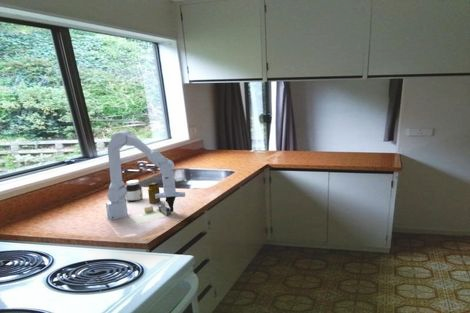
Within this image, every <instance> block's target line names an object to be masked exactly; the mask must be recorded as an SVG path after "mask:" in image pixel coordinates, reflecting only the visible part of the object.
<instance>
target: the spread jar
mask: <svg viewBox="0 0 470 313" xmlns="http://www.w3.org/2000/svg"><path fill="white" fill-rule="evenodd" d="M125 187H126V189H127V194H126V195H125V198H126V202H127V203H128V202H129V203H134V202H139V201H141V200H142V199H143V186H142V185H141V184H140V181H139V179H132V180H128V181H126V186H125Z"/></svg>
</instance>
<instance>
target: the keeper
mask: <svg viewBox="0 0 470 313" xmlns="http://www.w3.org/2000/svg"><path fill="white" fill-rule="evenodd" d="M143 209H144V213H150V212H153V210H154V206H153V205H152V206H147V207H144V208H143Z"/></svg>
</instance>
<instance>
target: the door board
mask: <svg viewBox="0 0 470 313" xmlns="http://www.w3.org/2000/svg"><path fill="white" fill-rule="evenodd" d="M166 207H167V206H166ZM167 208H169V207H167ZM177 214H178V213H177V212H176V211H174V210H173V212H171V215H168V216H166V215H165V214H164V213H162V212H161V211H159V208H157V209H153V212H150V213H145V212H142V213H138V214H133V215H130V216H129V218H130V219H131V220H132V221H133V222H134V223H136V225H140V224H145V223H147V222H148V223H149V222H151V221H152V222H153V221H155V220H159V219H163V218H166V217H171V216H174V215H177Z"/></svg>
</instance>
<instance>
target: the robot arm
mask: <svg viewBox="0 0 470 313" xmlns="http://www.w3.org/2000/svg"><path fill="white" fill-rule="evenodd" d="M124 146H130V147H131V146H132V147H135V148H136V150H137V149H138V150H139V151H140V152H141V153H143V154H145V155H146V156H147V160H148V161H149V162H151V163H152V164H153V165H155V166H156V167H157V168H158V169H159V171H160V173H161V175H162V177H161V178H162V179H161V180H162V187H163V192H160V193H159V194H155V199H157V198H160V199H163V198H165V202H166V203H167V205H168V206H169V207H168V208H169V209H170V210H171V212H173V211H174V203H175V202H176V201H175V200H176V198H185V197H186V193H185V192H184V191H177V190H176V181H175V173H174V172H175V171H174V168H175V164H174V163H175V162H174V161H173V159H172V160H171V159H169V158H168V157H165V156H164V155H162V154H161V152H160V150H158V151H157V150H155V149H154V150H152V149H151V148H150V147H149V146H148V145H146V144H145V143H144V142H143V141H142V140H141V139H140V138H138V136H137V135H136V134H135V133H133V132H131V131H130V130H129V129H128V130H127V129H125V130H122V131H117V132H115V133H114V134H113V135H112V136H111V137H110V141H109V143H108V145H107V154H108V155H107V157H108V166H109V168H108V169H109V176H110V184H109V186H108V192H107V200H109V201H108V202H107V203H105V208H106V215H107V216H106V217H107V218H108V219H109V220H110V221H112V220H116V219H122V218H125V217H126V216H128V215H129V214H128V207H127V206H128V205H127V200H126V198H125V195H126V194H127V189H126V186H125V182H124V181H123V175H122V174H123V171H122V162H121V151H120V150H121V149H122V148H123V147H124Z"/></svg>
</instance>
